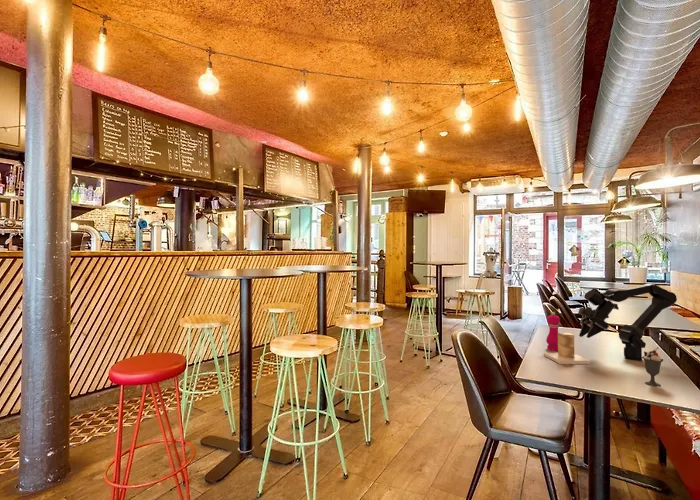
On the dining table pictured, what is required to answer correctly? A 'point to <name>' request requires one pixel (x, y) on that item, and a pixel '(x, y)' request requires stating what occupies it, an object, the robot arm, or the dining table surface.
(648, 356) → the sundae
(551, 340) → the pepper mill
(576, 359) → the plate
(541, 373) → the dining table surface
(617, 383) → the dining table surface
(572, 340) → the oak block
